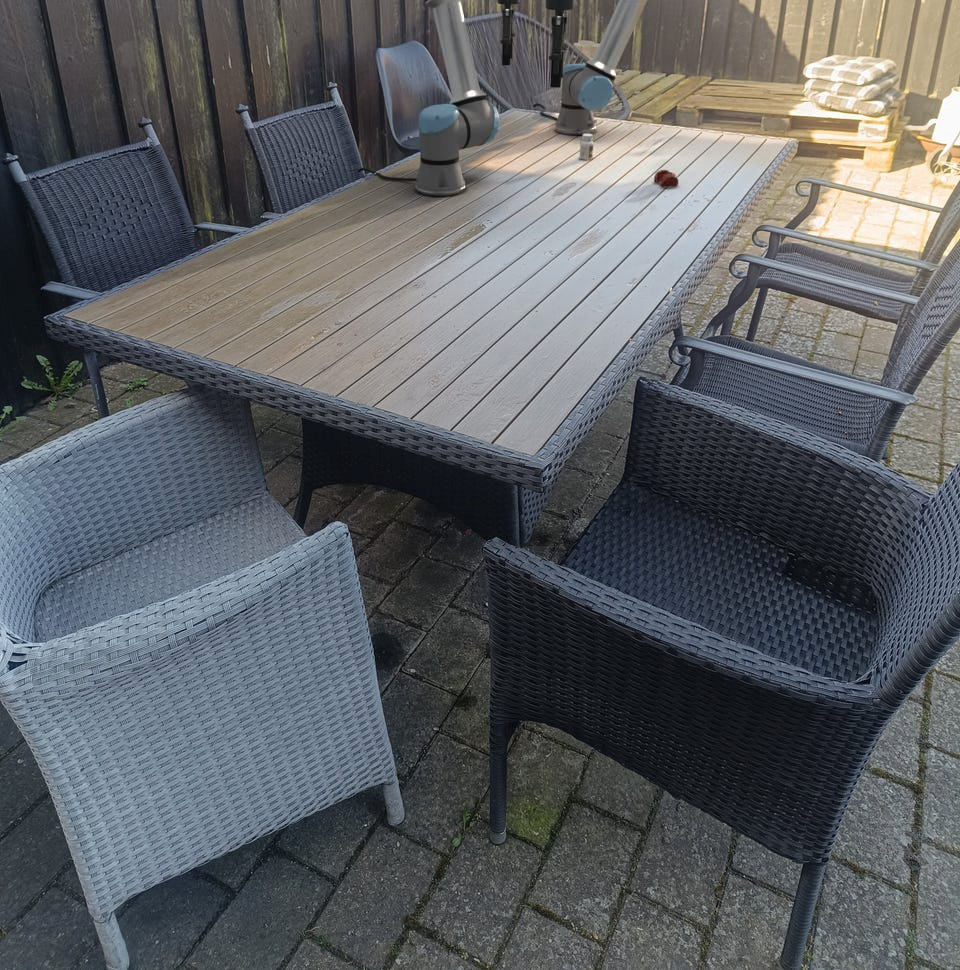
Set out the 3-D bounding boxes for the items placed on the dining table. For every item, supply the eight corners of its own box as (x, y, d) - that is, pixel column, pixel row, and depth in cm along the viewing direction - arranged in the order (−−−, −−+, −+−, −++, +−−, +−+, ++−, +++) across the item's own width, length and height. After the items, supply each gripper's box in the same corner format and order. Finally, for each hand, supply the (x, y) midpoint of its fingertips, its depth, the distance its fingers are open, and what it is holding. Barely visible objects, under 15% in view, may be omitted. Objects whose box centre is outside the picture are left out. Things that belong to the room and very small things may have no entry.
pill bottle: (592, 160, 286) (594, 136, 281) (579, 160, 286) (581, 136, 282) (592, 157, 289) (594, 133, 285) (579, 156, 290) (581, 133, 285)
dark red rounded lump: (669, 166, 264) (680, 173, 258) (668, 179, 266) (679, 187, 260) (653, 168, 263) (663, 175, 257) (652, 181, 265) (662, 189, 259)
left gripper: (574, -3, 204) (568, 91, 216) (577, -14, 224) (571, 74, 236) (543, -4, 205) (539, 91, 217) (548, -14, 225) (545, 73, 237)
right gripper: (518, -6, 264) (516, 68, 277) (522, -14, 284) (520, 55, 297) (494, -7, 265) (493, 68, 277) (499, -15, 285) (498, 55, 297)
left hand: (556, 82), depth 227 cm, fingers open, 13 cm apart
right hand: (507, 61), depth 287 cm, fingers open, 13 cm apart
